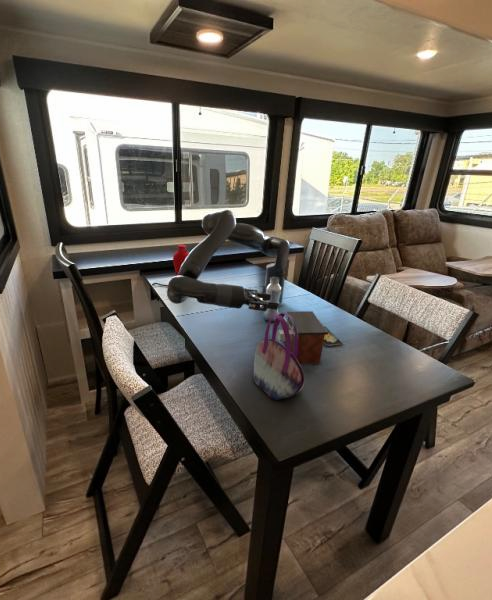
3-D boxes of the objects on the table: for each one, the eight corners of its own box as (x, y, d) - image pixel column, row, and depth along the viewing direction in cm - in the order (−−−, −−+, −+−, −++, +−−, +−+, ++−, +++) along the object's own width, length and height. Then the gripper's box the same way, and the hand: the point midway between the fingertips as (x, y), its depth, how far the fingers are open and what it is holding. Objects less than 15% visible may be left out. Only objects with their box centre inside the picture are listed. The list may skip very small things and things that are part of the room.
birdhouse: (294, 364, 109) (298, 332, 104) (282, 340, 125) (286, 311, 119) (322, 364, 110) (328, 332, 105) (308, 339, 125) (312, 311, 120)
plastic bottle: (266, 315, 145) (270, 274, 137) (280, 318, 142) (284, 277, 134) (261, 320, 140) (264, 278, 132) (274, 324, 137) (279, 281, 129)
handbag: (243, 372, 105) (247, 304, 95) (267, 363, 109) (273, 298, 99) (285, 412, 88) (296, 336, 78) (311, 400, 93) (324, 326, 83)
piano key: (279, 341, 113) (280, 334, 112) (277, 337, 116) (278, 329, 115) (294, 340, 113) (295, 333, 112) (292, 336, 116) (293, 329, 115)
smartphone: (324, 325, 135) (342, 343, 122) (324, 327, 135) (342, 344, 122) (309, 326, 134) (326, 344, 120) (309, 328, 134) (325, 346, 121)
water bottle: (192, 293, 167) (191, 248, 157) (172, 292, 169) (170, 246, 159) (196, 287, 175) (195, 244, 165) (177, 286, 177) (176, 242, 167)
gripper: (234, 292, 95) (283, 298, 98) (226, 279, 108) (270, 285, 112) (229, 314, 97) (277, 320, 101) (222, 299, 111) (265, 304, 114)
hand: (273, 301), depth 106 cm, fingers open, 8 cm apart
